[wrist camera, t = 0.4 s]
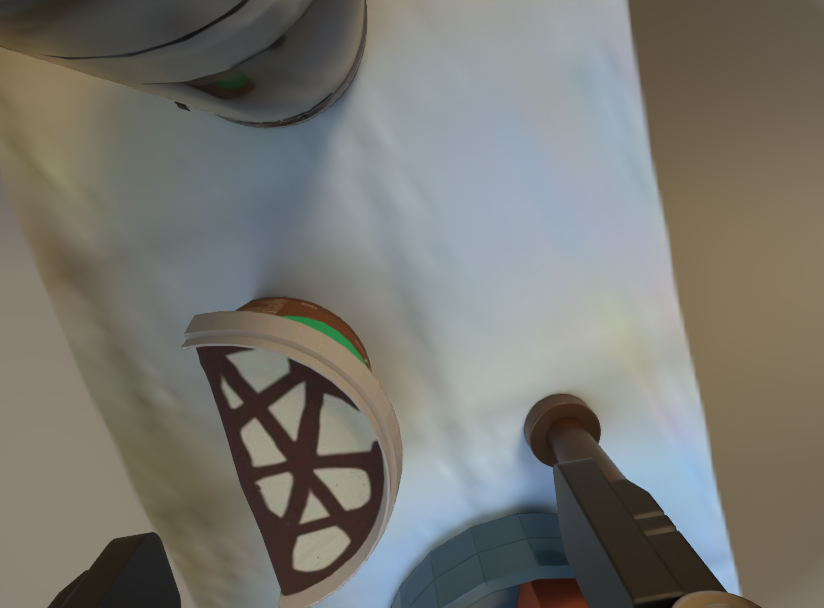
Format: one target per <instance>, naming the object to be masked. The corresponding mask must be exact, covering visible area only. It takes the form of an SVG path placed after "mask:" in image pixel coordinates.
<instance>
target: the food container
mask: <svg viewBox="0 0 824 608" xmlns="http://www.w3.org/2000/svg"><path fill="white" fill-rule="evenodd" d="M185 337H186V341H185V343H184V344H183V345H182V346H181V347H180V348H181V350H182V349H189V348H196V349H197V352H198V355H199V359H200V364H201V366H202V368H203V369H204V371H205V373H206V376H207V378H208V381H209V383H210V386H211V389H212V392H213V395H214V398H215V401H216V404H217V407H218V410H219V413H220V416H221V420H222V423H223V426H224V429H225V432H226V436H227V439H228V442H229V446H230V450H231V453H232V457H233V461H234V464H235V467H236V471H237V474H238V477H239V481H240V484H241V487H242V489H243V492H244V494H245V496H246V499H247V501H248V503H249V506H250V508H251V510H252V512H253V514H254V517H255V519H256V522H257V524H258V527H259V529H260V532H261V534H262V537H263V540H264V542H265V545H266V548H267V551H268V554H269V557H270V559H271V562H272V565H273V568H274V571H275V574H276V576H277V579H278V582H279V585H280V588H281V594H280V601H279V608H309V607H311V606H313V605H315V604H317V603H319V602H321V601H322V600H324V599H325V598H327V597H328V596H330V595H331V594H333V593H334V592H336V591H337V590H339V589H340V588H341V587H342V586H343V585H344V584H345V583H346V582H348V581H349V580H350V579H351V578H352V577H353V576H354V575H355V574H356V573H357V571H358V570H359V569H360V568H361V567H362V565H363V564H364V563H365V562H366V561H367V559H368V558H369V556H370V554H371V553H372V552H373V551H374V549H375V547H376V546H377V544H378V542H379V541H380V539H381V537H382V535H383V534H384V532H385V530H386V527H387V524H388V522H389V519H390V517H391V514H392V511H393V508H394V504H395V500H396V497H397V493H398V489H399V484H400V479H401V473H402V450H403V447H402V441H401V435H400V429H399V425H398V422H397V419H396V416H395V413H394V410H393V408H392V405H391V403H390V401H389V399H388V397H387V396H386V394H385V392H384V390H383V388H382V387H381V385H380V383H379V382H378V381H377V380H376V378H375V377H374V376H373V375H372V372H371V367H370V363H369V359H368V356H367V354H366V351H365V348H364V347H363V345H362V343H361V341H360V339H359V338H358V336H357V335H356V334H355V333H354V331H353V330H352V329H351V328H350V326H348V325H347V324H346V323H345V322H344V321H343V320H342V319H341V318H340V317H338V316H337V315H335V314H333V313H332V312H330V311H329V310H327V309H325V308H323V307H321V306H319V305H316V304H314V303H311V302H307V301H304V300H300V299H294V298H286V297H268V298H262V299H256V300H252V301H250V302H249V303H247V304H245V305H244V306H242V307H240V308H239V309H237V310H236V311H219V312H212V313H206V314H199V315H194V317H193V319H192V321H191V323H190V325H189V326H188V328H187V330H186V332H185Z"/></svg>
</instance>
